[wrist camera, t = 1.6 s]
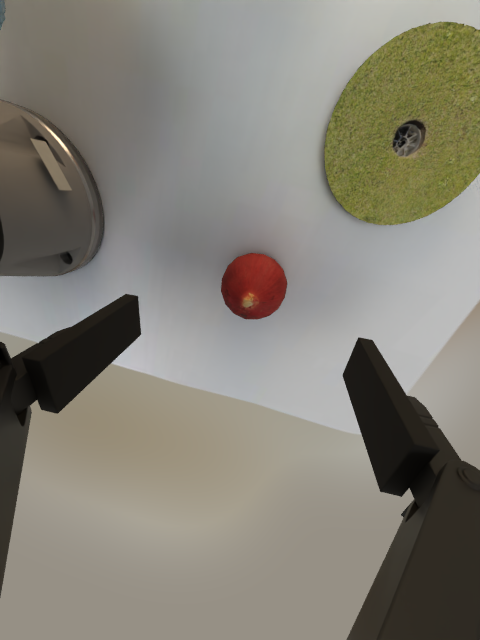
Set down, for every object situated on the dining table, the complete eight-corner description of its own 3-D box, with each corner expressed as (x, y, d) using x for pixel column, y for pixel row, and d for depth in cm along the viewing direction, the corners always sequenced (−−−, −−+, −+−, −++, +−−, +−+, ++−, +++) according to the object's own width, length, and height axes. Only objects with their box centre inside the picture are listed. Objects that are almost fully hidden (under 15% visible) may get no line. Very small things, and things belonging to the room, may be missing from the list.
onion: (268, 309, 26) (263, 350, 19) (221, 286, 26) (199, 319, 19) (296, 262, 24) (302, 290, 17) (244, 235, 23) (227, 252, 16)
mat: (398, 247, 22) (408, 252, 20) (293, 178, 20) (293, 176, 19) (528, 101, 16) (557, 90, 15) (396, -3, 15) (411, -28, 14)
